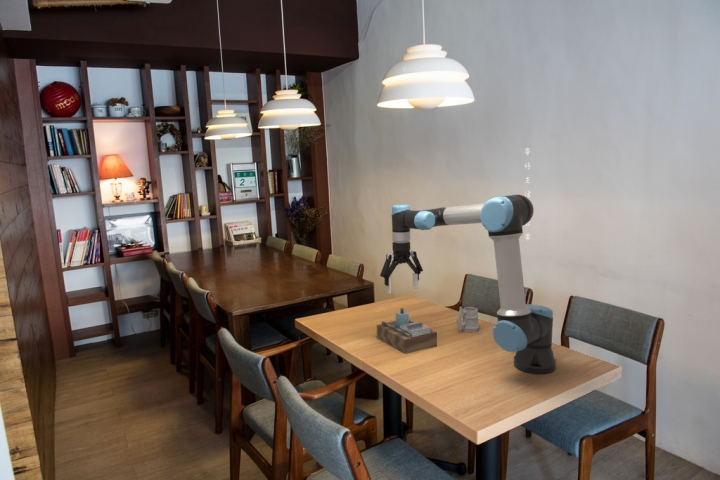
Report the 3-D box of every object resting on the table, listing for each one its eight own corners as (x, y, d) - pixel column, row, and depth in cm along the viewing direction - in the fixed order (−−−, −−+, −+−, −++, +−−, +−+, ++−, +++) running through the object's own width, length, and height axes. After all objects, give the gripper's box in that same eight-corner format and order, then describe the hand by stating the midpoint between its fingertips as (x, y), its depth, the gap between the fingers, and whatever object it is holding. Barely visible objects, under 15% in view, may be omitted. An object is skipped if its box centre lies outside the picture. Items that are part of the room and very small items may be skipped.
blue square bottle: (408, 340, 226) (408, 309, 224) (401, 342, 224) (400, 310, 222) (403, 337, 230) (403, 306, 228) (396, 339, 228) (395, 308, 226)
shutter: (430, 333, 216) (430, 325, 216) (412, 337, 212) (412, 329, 211) (417, 327, 224) (417, 319, 223) (399, 331, 220) (399, 323, 219)
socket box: (436, 346, 219) (436, 329, 218) (405, 353, 211) (405, 336, 210) (407, 331, 238) (407, 316, 237) (377, 338, 230) (376, 322, 229)
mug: (482, 330, 237) (482, 304, 235) (463, 335, 230) (463, 309, 228) (470, 326, 243) (470, 301, 241) (451, 331, 237) (451, 305, 235)
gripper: (420, 237, 229) (420, 284, 233) (371, 243, 217) (372, 293, 221) (430, 239, 223) (431, 288, 226) (380, 245, 211) (381, 296, 214)
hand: (402, 290), depth 223 cm, fingers open, 13 cm apart
